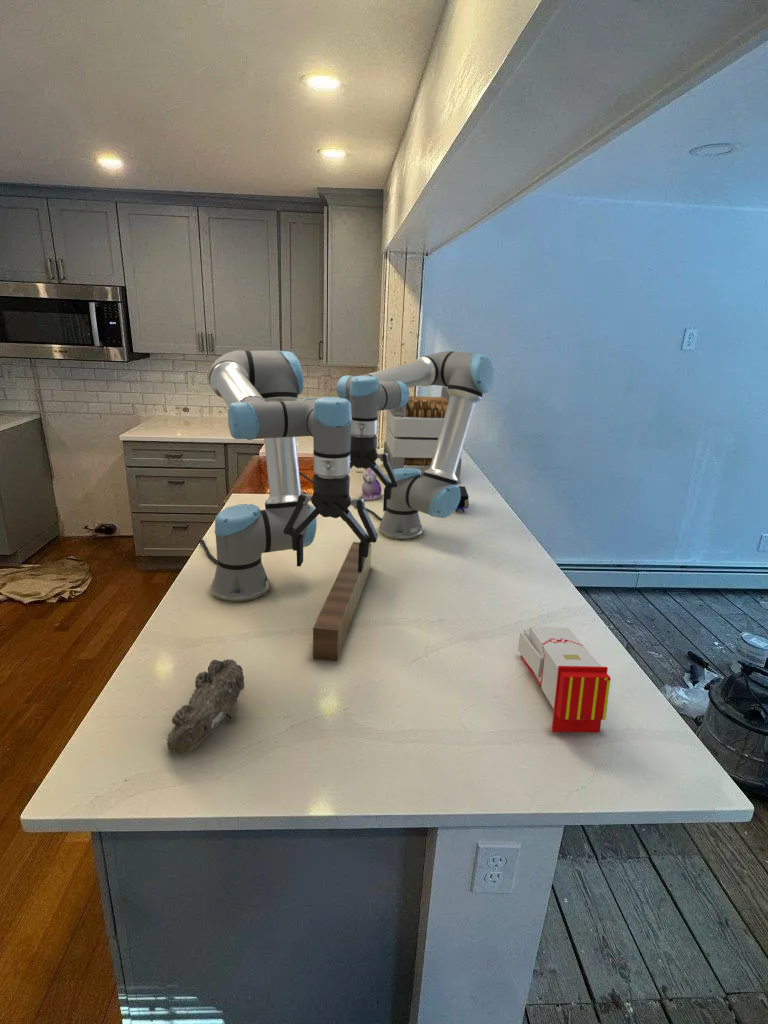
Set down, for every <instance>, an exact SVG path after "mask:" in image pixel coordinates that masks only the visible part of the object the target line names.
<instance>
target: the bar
mask: <svg viewBox="0 0 768 1024" xmlns="http://www.w3.org/2000/svg"><path fill="white" fill-rule="evenodd" d="M359 543H360V541H353V542H352V543H351V546H350V548H349V550H348V552H347V554H346V557H345V558H344V561H343V562H342V564H341V566H340V569H339V572H338V573H337V576H336V578H335V579H334V582H333V584H332V586H331V589H330V591H329V593H328V595H327V597H326V599H325V601H324V603H323V606H322V608H321V609H320V612H319V614H318V617H317V618H316V621H315V623H314V625H313V627H312V659H313V660H317V661H326V662H327V661H328V662H337V663H338V661H339V658H340V656H341V653H342V650H343V647H344V644H345V642H346V639H347V636H348V633H349V630H350V627H351V624H352V621H353V619H354V615H355V613H356V610H357V607H358V605H359V601H360V598H361V597H362V596H361V595H362V593H363V591H364V588H365V585H366V581H367V579H368V576H369V573H370V570H371V568H372V567H371V566H372V564H371V563H372V543H369V554H368V556H367V558H365V557H364V566H363V570H362V572H361V573H360V572H358V557H359Z"/></svg>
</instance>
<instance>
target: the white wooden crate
mask: <svg viewBox="0 0 768 1024" xmlns="http://www.w3.org/2000/svg"><path fill="white" fill-rule="evenodd" d="M447 388H448V387H445V386H441V392H440V393H441V394H440V396H415V395H414V396H413V395H412V396H411V395H410V396H409V400H408V402H407V404H406V405H405V406H403V407H400V408H397V409H388V410H386V413H385V414H386V415H385V423H386V428H385V438H384V442H383V454H384V453H385V452H386V453H388V461H389V463H390V465H391V467H392V470H394V469H398V468H405V466H406V467H407V466H411V467H412V466H413V467H415V466H416V467H417V466H418V467H430V465H431V462H432V458H433V455H434V451H435V448H436V444H437V440H438V437H439V433H440V430H441V426H442V423H443V419H444V416H445V412H446V409H447V405H448V402H449V398H450V396H449V394H448V392H447ZM462 453H463V451H462V452H461V455H460V459H459V462H458V466H457V469H456V473H455V476H456V478H457V479H458V482H457V484H459V483H461V472H462V461H463V460H462Z"/></svg>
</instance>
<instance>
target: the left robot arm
mask: <svg viewBox="0 0 768 1024" xmlns="http://www.w3.org/2000/svg"><path fill="white" fill-rule="evenodd" d="M303 373H304V372H303V369H302V366H301V362H300V360H299V359H298V357H297V356H296V354H295V353H293V352H292V351H288V350H286V351H285V350H279V349H276V350H243V349H239V350H232V351H229V352H226V353H224V354H222V355H221V356H219V357H218V358H217V359H216V360H214V362H213V363H212V365H211V366H210V368H209V371H208V382H209V385H210V388H211V389H212V391H213V393H214V394H216V395H217V396H218V397H219V398H221V399H223V401H224V402H225V404H226V406H227V407H228V408H227V423H228V429H229V433H230V436H231V437H232V438H233V439H235V440H247V441H253V440H262V439H263V440H264V452H265V461H266V462H265V463H266V470H267V471H266V472H267V483H268V491H269V497H268V498H267V499H266V501H265V502H264V508H265V509H260V507H259V506H258V505H256V504H252V503H249V504H247V503H241V504H235V505H231V506H229V507H226V508H224V509H222V510H221V511H219V512H218V513H217V515H216V516H215V519H214V535H215V545H216V547H215V548H216V558H215V557H214V556H213V555H212V554H211V552H210V550H209V548H208V546H207V544H206V541H204V539H202V538H200V539H199V540H198V543H199V544H201V545H202V547H203V549H204V551H205V553H206V555H207V557H208V558H209V559H210V560H211V561H212V562H214V563H215V564H217V566H216V569H215V573H214V577H213V580H212V583H211V593H212V595H213V596H214V598H216V599H217V600H221V601H224V602H228V603H244V602H250V601H254V600H256V599H259V598H261V597H263V596H265V595H266V594H267V593H268V591H269V589H270V578H269V577H268V575H267V572H266V570H265V568H264V565H263V563H262V554H266V553H274V552H281V551H288V550H292V551H294V552H296V567H301V566H302V564H303V563H304V548H307V547H309V546H311V545H312V544H313V542H314V540H315V537H316V533H317V525H318V524H317V517H318V516H319V515H320V516H322V518H333V519H338V518H341V520H342V521H343V522H345V523H346V525H347V526H348V527H349V528H350V529H351V531H352V532H353V533H354V534H355V536H356V537H357V538H358V539H359V542H360V543H359V557H358V572H360V573H361V572H362V570H363V566H364V557H365V558H367V556H368V554H369V543H371V544H372V543H373V544H375V543H376V542H377V540H378V538H379V534H378V532H377V530H376V528H375V526H374V524H373V521H372V520H371V517H370V515H369V512H368V511H367V510H366V508H367V507H366V506H365V500H364V498H363V497H362V496H359V497H358V498H351V496H350V482H351V480H350V479H351V477H350V475H349V474H350V473H351V469H350V462H351V461H350V444H351V422H352V415H351V403H350V402H349V401H348V400H347V399H344V398H340V397H339V396H323V397H321V396H320V397H318V398H317V397H305V398H303V399H301V400H299V395H301V394H302V393H303V391H304V382H305V381H304V374H303ZM298 437H299V438H300V437H312V439H313V441H312V442H313V451H312V453H313V454H312V456H313V461H312V462H313V467H312V468H313V469H312V470H313V473H314V474H313V476H312V478H313V479H312V481H313V483H312V485H313V486H312V487H313V488H312V491H313V493H312V494H309V493H308V494H307V493H306V492H305V491H302V488H301V477H300V476H301V475H300V474H299V472H300V465H299V455H298V446H297V445H298V443H297V438H298ZM309 502H311V504H312V505H311V504H309ZM351 505H352V506H353V508H354V509H355V510H356V511H357V514H358V516H359V518H360V520H361V522H362V524H363V527H364V528H363V527H362V526H361V524H360V523H359V521H358V520H357V519H356V518H355V517H354V515H353V514H352V512H351V510H350V509H349V507H350V506H351ZM201 542H202V543H201Z"/></svg>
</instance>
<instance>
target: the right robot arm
mask: <svg viewBox="0 0 768 1024" xmlns="http://www.w3.org/2000/svg"><path fill="white" fill-rule="evenodd" d="M492 360H493V359H491V358H490V357H489V356H488V355H486V354H481V353H477V352H474V353H473V352H461V351H454V350H447V351H445V350H444V351H440V352H435V353H431V354H427V355H424V356H420V357H418V358H416V359H415V360H414V361H413V362H409V363H405V364H401V365H397V366H393V367H389V368H386V369H385V368H384V369H381V370H377V371H373V372H370V373H366V374H361V375H351V374H350V375H343V376H341V377H340V378H339V380H338V381H337V384H336V393H337V397H339V398H344V399H347V400H348V401H349V402H350V403H351V415H352V422H351V444H350V470H351V469H352V468H353V467H354V468H356V469H364V470H365V469H368V468H371V469H372V471H374V472H375V474H376V477H377V478H378V479H379V480H380V481H381V483H382V484H383V485H384V488H383V505H382V511H383V512H384V513H383V515H382V517H380V516H379V515H378V514H377V513H376V512H375V511H373V510H371V509H369V508H367V507H365V508H366V510H367V513H370V514H372V515H373V516H374V517H375V518H377V520H379V521H381V522H379V525H378V533H379V534H380V535H381V536H382V537H385V538H387V539H389V540H395V541H410V540H415V539H418V538H420V537H421V536H422V535H423V525H422V524H421V518H420V515H419V512H420V513H423V514H426V515H429V516H430V517H434V518H440V519H445V518H448V517H450V516H451V515H452V514H453V513H454V512H456V511H455V510H456V508H457V506H458V504H459V502H460V498H461V494H460V493H461V491H460V488H459V487H458V486H459V485H458V483H457V482H458V479H457V478H456V476H455V473H456V469H457V466H458V462H459V459H460V455H461V456H462V453H463V448H464V444H465V442H466V437H467V434H468V430H469V427H470V423H471V420H472V416H473V413H474V409H475V406H476V404H477V403H478V402H480V401H482V398H483V395H484V394H487V393H489V392H490V391H491V389H492V388H493V387H494V384H495V381H496V380H495V379H496V370H495V366H494V362H493V361H492ZM419 386H422V387H429V386H439V387H447V392H448V394H449V396H450V398H449V402H448V405H447V409H446V412H445V416H444V419H443V423H442V426H441V430H440V433H439V437H438V440H437V444H436V448H435V451H434V455H433V458H432V462H431V465H430V466H429V468H427V469H425V470H423V473H422V470H421V469H420V468H416V467H404V468H398V469H394V470H392V467H391V465H390V463H389V461H388V453H386V452H385V453H384V452H383V453H378V451H377V447H378V445H377V444H378V436H377V434H378V418H379V417H378V415H379V412H381V411H387V410H388V409H397V408H400V407H403V406H405V405H406V404H407V402H408V400H409V396H411V395H410V389H411V388H413V387H414V388H415V387H419ZM461 452H462V453H461ZM377 459H379V461H380V462H382V464H383V467H384V469H385V471H386V473H387V475H386V474H385V473H384V472H383V471H382V470H381V468H380V467H379V465H378V464H377V462H376V461H377ZM299 475H300V476H302V477H303V478H304V479H306V480H307V481H308V482H310V483H312V484H313V479H310V478H309V477H308V476H307V475H305V474H304V473H302V472H301V471H299Z"/></svg>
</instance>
